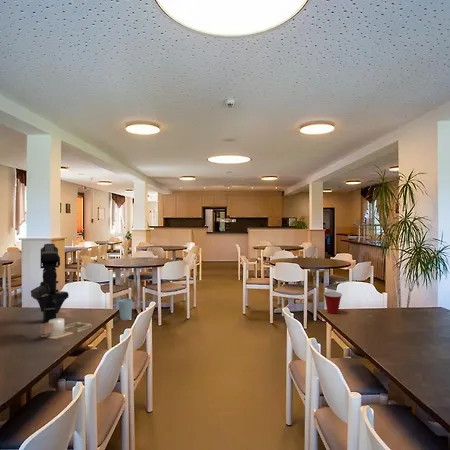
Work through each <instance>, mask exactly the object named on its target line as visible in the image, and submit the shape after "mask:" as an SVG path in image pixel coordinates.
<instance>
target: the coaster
mask: <svg viewBox="0 0 450 450" xmlns="http://www.w3.org/2000/svg"><path fill="white" fill-rule="evenodd" d="M73 334H74V332H72V331H66V330H64V335H62V336H57V337H50V336H49V333H47V334H42V335H40V337H42V338H45V339H51V340H52V339H53V340H58V339H61V338H65V337H66V336H70V335H73Z"/></svg>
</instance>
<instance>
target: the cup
mask: <svg viewBox="0 0 450 450" xmlns="http://www.w3.org/2000/svg"><path fill="white" fill-rule="evenodd" d="M117 302H118V309H119V317H120V320H122V321H127V320H131V318H132V309H133V302H134V301H133V299H131V298H124V299H119V300H118V301H117Z"/></svg>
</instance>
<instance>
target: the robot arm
mask: <svg viewBox="0 0 450 450" xmlns="http://www.w3.org/2000/svg"><path fill="white" fill-rule="evenodd" d="M39 265H40V269H42V281H41V282H40V283H39V286H36V287H35V288H33V289H32V290H30V297H32V299H34V300H36V301H37V303H38V305H39V308H40V312H41V313H42V320H41V321H40V322H41V323H42V324H44V323H48V322H49V320H51V319H55V318H57V314H58V313H60V310H61V307H62V306H63V304H64V302H65V301H66V300H67V299H69V297H70V296H69V292H68V291H65V290H64V291H62V290H61V291H59V289H57V284H59V280H57V277H58V274H57V268H59V267H60V266H61V257H60V254H59V247H56V243H45V244H43V247H42V248H40V264H39Z"/></svg>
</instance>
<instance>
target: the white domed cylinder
mask: <svg viewBox="0 0 450 450" xmlns="http://www.w3.org/2000/svg"><path fill="white" fill-rule="evenodd" d="M64 326H65V318H64V317H63V318H62V317H58V318H57V317H56V318H55V319H51V320H49V322H48V323H41V324H40V325H39V327H40V328H39V333H40V334H42V335H45V334H48V333H49V336H50V337H57V336H62V335H64V331H65V329H64Z"/></svg>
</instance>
